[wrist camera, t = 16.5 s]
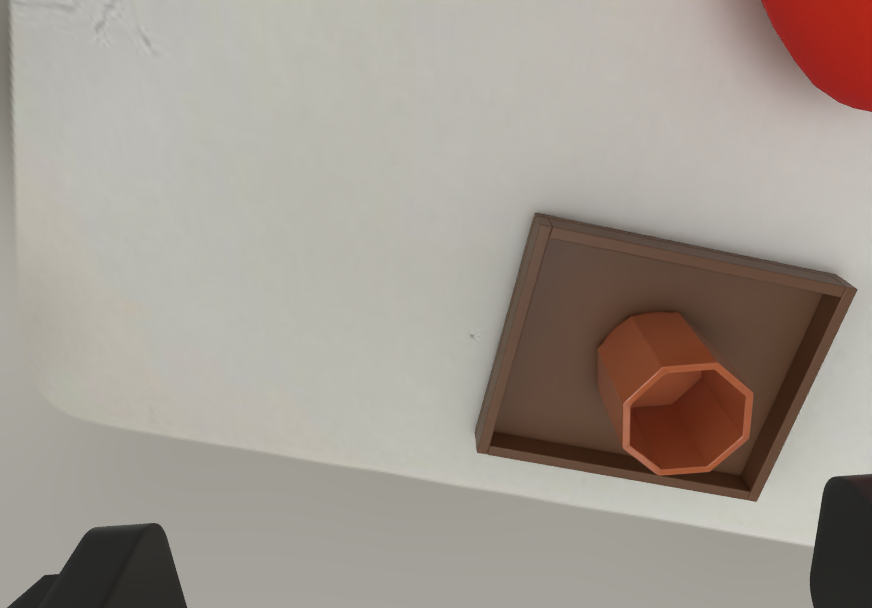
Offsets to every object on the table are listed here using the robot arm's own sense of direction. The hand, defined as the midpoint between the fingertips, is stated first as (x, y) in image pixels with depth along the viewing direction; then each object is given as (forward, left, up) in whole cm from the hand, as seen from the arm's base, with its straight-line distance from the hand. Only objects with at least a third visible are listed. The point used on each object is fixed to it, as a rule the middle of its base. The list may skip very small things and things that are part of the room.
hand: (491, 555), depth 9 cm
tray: (+10, -13, -28) cm, 32 cm away
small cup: (+10, -13, -27) cm, 32 cm away
